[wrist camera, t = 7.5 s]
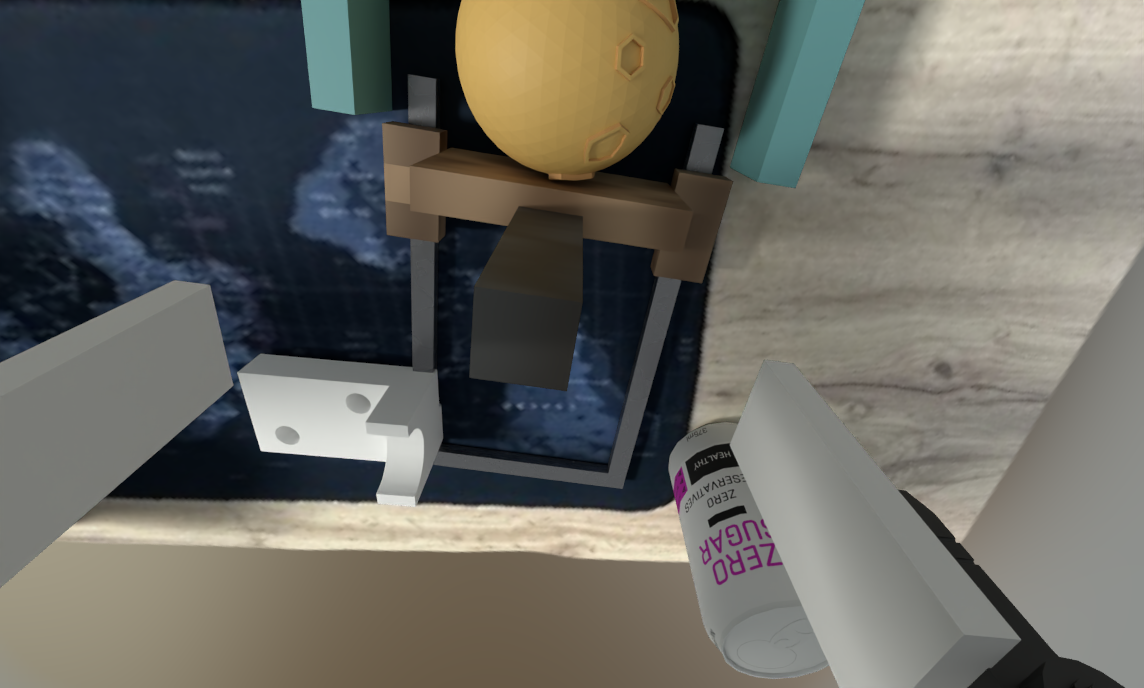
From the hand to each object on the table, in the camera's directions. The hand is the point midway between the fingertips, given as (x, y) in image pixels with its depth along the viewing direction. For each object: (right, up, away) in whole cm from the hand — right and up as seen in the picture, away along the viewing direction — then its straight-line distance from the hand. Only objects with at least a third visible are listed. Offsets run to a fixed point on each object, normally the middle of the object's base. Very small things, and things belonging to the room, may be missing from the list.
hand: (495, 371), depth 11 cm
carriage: (+1, +10, +17) cm, 20 cm away
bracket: (-15, -3, +26) cm, 30 cm away
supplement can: (+14, -9, +27) cm, 32 cm away
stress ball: (+2, +16, +14) cm, 21 cm away
